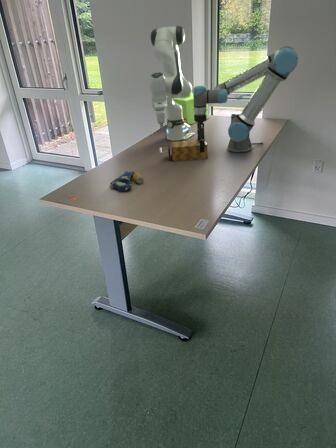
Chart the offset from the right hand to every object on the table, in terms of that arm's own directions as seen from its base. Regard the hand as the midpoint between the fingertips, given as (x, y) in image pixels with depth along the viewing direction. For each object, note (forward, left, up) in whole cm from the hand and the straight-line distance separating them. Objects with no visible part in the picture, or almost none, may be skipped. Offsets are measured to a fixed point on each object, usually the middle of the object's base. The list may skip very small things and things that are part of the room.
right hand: (201, 148), depth 210 cm
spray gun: (+50, +26, -5) cm, 56 cm away
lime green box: (-17, -88, -5) cm, 90 cm away
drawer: (+13, -3, -4) cm, 14 cm away
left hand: (+23, -5, +15) cm, 28 cm away
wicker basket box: (+7, -2, -5) cm, 9 cm away
